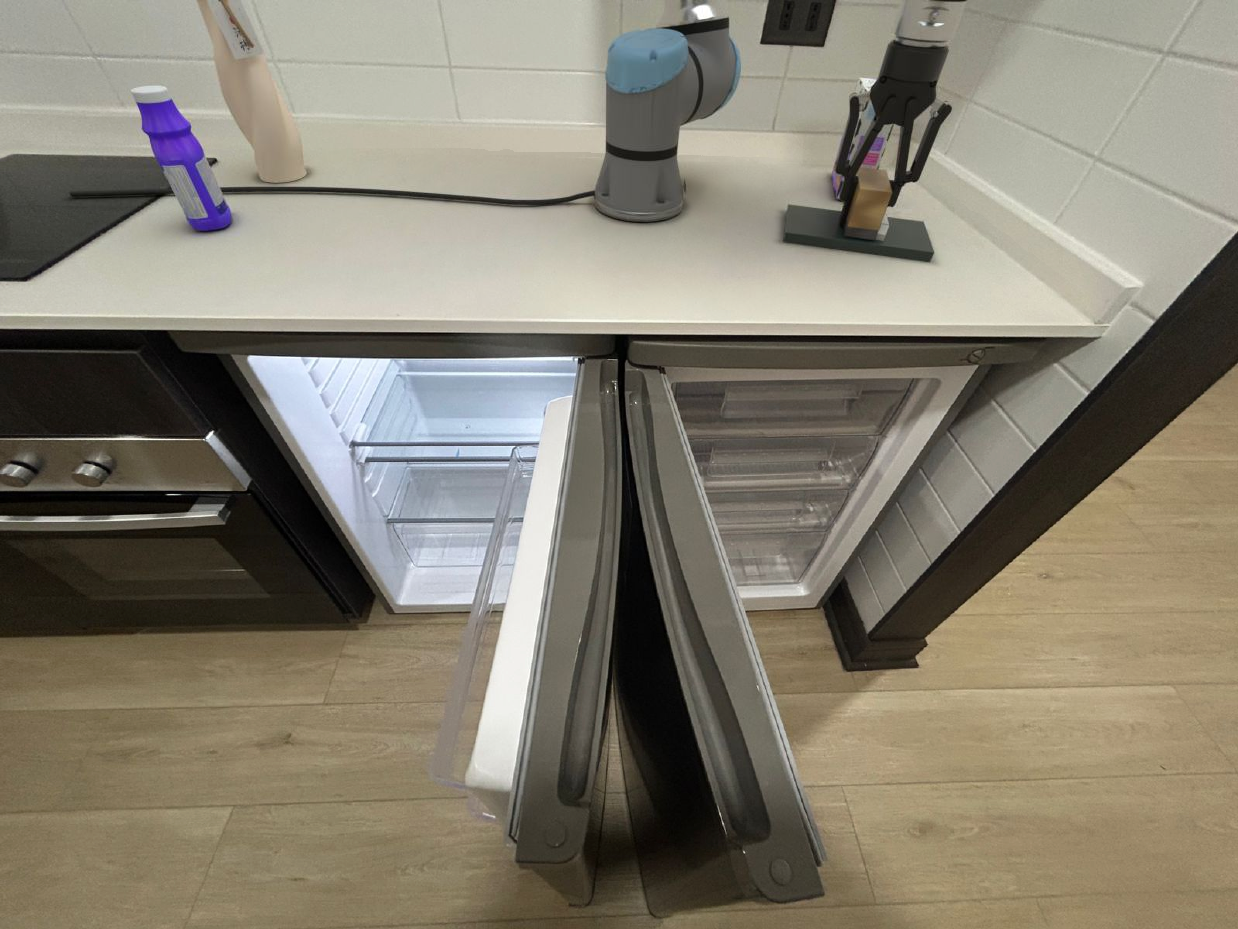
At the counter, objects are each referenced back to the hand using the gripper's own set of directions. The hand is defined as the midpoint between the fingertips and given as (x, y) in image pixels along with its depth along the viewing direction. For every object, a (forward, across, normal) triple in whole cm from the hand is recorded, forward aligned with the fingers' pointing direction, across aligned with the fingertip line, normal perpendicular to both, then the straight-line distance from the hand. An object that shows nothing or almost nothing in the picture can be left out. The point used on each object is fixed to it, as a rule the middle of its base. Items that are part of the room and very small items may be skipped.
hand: (858, 224), depth 88 cm
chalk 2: (0, +3, -2) cm, 4 cm away
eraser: (0, 0, 0) cm, 0 cm away
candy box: (+2, 0, +22) cm, 22 cm away
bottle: (+2, -96, -28) cm, 100 cm away
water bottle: (+2, -99, -7) cm, 99 cm away
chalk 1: (0, +4, +2) cm, 4 cm away
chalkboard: (+2, 0, 0) cm, 2 cm away
